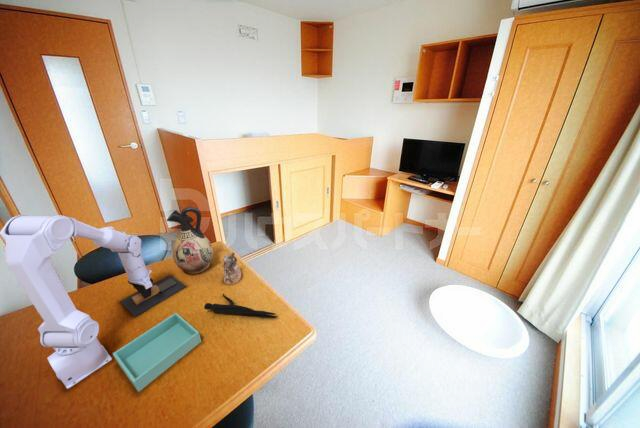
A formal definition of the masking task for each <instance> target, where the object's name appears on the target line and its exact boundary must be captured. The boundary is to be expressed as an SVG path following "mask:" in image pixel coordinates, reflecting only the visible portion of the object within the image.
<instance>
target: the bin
mask: <svg viewBox="0 0 640 428" xmlns="http://www.w3.org/2000/svg"><path fill="white" fill-rule="evenodd" d="M201 342H202V338H201V335H200V332H199V331H198V330H197V329H196V328H194V327H193V325H191V324H190V323H189V322H188V321H186V319H184V318H183V317H182V316H180V314H178V312H174V313H172V314H171V315H169V316H168V317H167V318H165V319H163V320H162V321H161V322H159V323H157V324H156V325H154V326H152V327H151V328H150V329H148V330H146V331H145V332H144V333H142V334H140V335H139V336H138V337H136V338H134V339H133V340H131V341H129V342H128V343H127V344H125V345H123V346H121V347H120V348H119V349H117V350H116V351H114V352H112V355H113V357H114V359H115V361H116V363H117V365H118V366H119V367H120V369H121V370H122V371H123V373H124V375H126V377H127V378H128V380H129V381H130V383H131V384H132V385H133V387H134V388H135V390H136V391H137V392H138V393H139V392H141V391H142V390H143V389H144V388H145V387H146V386H148V385H149V384H151V383H152V382H153V381H154V380H155V379H157V378H158V377H159V376H161V375H162V374H163V373H164V372H166V371H167V370H168V369H170V367H172V366H173V365H174V364H176V362H178V361H179V360H180V359H182V358H183V357H184V356H186V355H187V354H188V353H189V352H190V351H191V350H193V349H194V348H195V347H197V346H198V345H199V344H200V343H201Z"/></svg>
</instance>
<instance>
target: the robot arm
mask: <svg viewBox="0 0 640 428" xmlns="http://www.w3.org/2000/svg"><path fill="white" fill-rule="evenodd" d="M0 237H1V238H2V240H3V242H4V243H5V262H6V265H7V267H8V269H9V270H10V271H11V273H12V274H13V276H14V278H15V279H16V281H17V282H18V284H19V285H20V287H21V288H22V290H23V292H24V293H25V294H26V297H28V299H29V300H30V302H31V303H32V305H33V307H34V308H35V309H36V311H37V313H38V315H39V316H40V318H41V319H42V320H43V322H42V323H41V324H39V327H38V328H37V331H38V332H39V335H40V336H39V340H40V345H41V346H42V347H43V348H44V347H45V348H52V349H53V350H54V352H52V354H50V355H48V356H47V357H46V358H47V361H48V363H49V365H50V366H51V368H52V370H53V371H54V373H55V375H56V377H57V379H58V380H59V381H61V382H62V383H63V385H64V387H65V388H66V389H70V388H71V387H74V385H76V384H78V383H79V382H80V381H81V382H82V381H83V380H84V379H85V378H87V377H88V376H90V375H91V374H93V373H94V372H95V371H97V370H99V369H100V368H102V367H103V366H105V365H107V364H108V363H110V361H112V360H113V358H112V357H111V355H110V354H109V352H108V351H107V350H106V348H105V346H104V345H103V344H101V342H100V341H99V339H98V334H99V332H100V324H99V322H98V321H97V320H94V319H92V318H91V316H90V314H87V313H85V312H83V311H81V310H79V309H77V307H76V306H75V304H74V302H73V301H72V299H71V297H70V296H69V294H68V292H67V290H66V288H65V287H64V285H63V283H62V281H61V279H60V278H59V276H58V274H57V272H56V271H55V268H54V267H53V265H52V263H51V261H50V258H51V257H52V256H54V255H56V253H58V252H59V250H61V249H62V247H64V245H65V244H66V243H67V242H68V241H69V240H70V239H71V238H72V237H77V238H81V239H85V240H91V241H92V243H93V244H94V245H95V246H97V247H99V248H100V247H101V248H105V249H109V250H110V251H111V252H112V253H117V255H118V257H119V259H120V262H121V264H122V267H123V269H124V271H125V273H126V276H127V283H128V284H129V285H131V286H132V287H133V288H134V289H135V290H136V291H137V292H139V293H141V294H142V296H143V297H144V298H145V299H146V298H148V297H149V296H151V287H152V284H154V279H153V278H150V274H151V273H152V272H153V271H152V269H151V268H148V267H147V266H146V263H145V261H144V258H143V255H142V252H143V251H142V250H143V249H142V239H141V238H140V237H139V236H138V235H136V234H127V233H126V232H125V231H121V230H120V231H119V230H116V229H115V227H113V226H106V227H105V226H104V227H101V228H97V227H95V226H92V225H90V224H87V223H85V222H82V221H80V220H77V219H76V218H75V217H68V216H66V215H60V214H59V215H28V214H19V215H15V216H13V217H11V218H9V220H7V222H6V223H5V224H4V226H3V227H2V228H1V230H0Z"/></svg>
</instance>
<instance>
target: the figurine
mask: <svg viewBox="0 0 640 428" xmlns="http://www.w3.org/2000/svg"><path fill="white" fill-rule="evenodd" d="M222 260H223V264H222V266H221V267H222V268H223V277H222V278H223V282H224V283H225V284H227V285H234V284H237V283H238V282H239V281H240V280H241V279H242V272H241V267H240V266H239V264H238V259H237V257H236V256H235V252H232V253H231V254H228V253H227V254H226V255H225V256H224V257H222Z"/></svg>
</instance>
